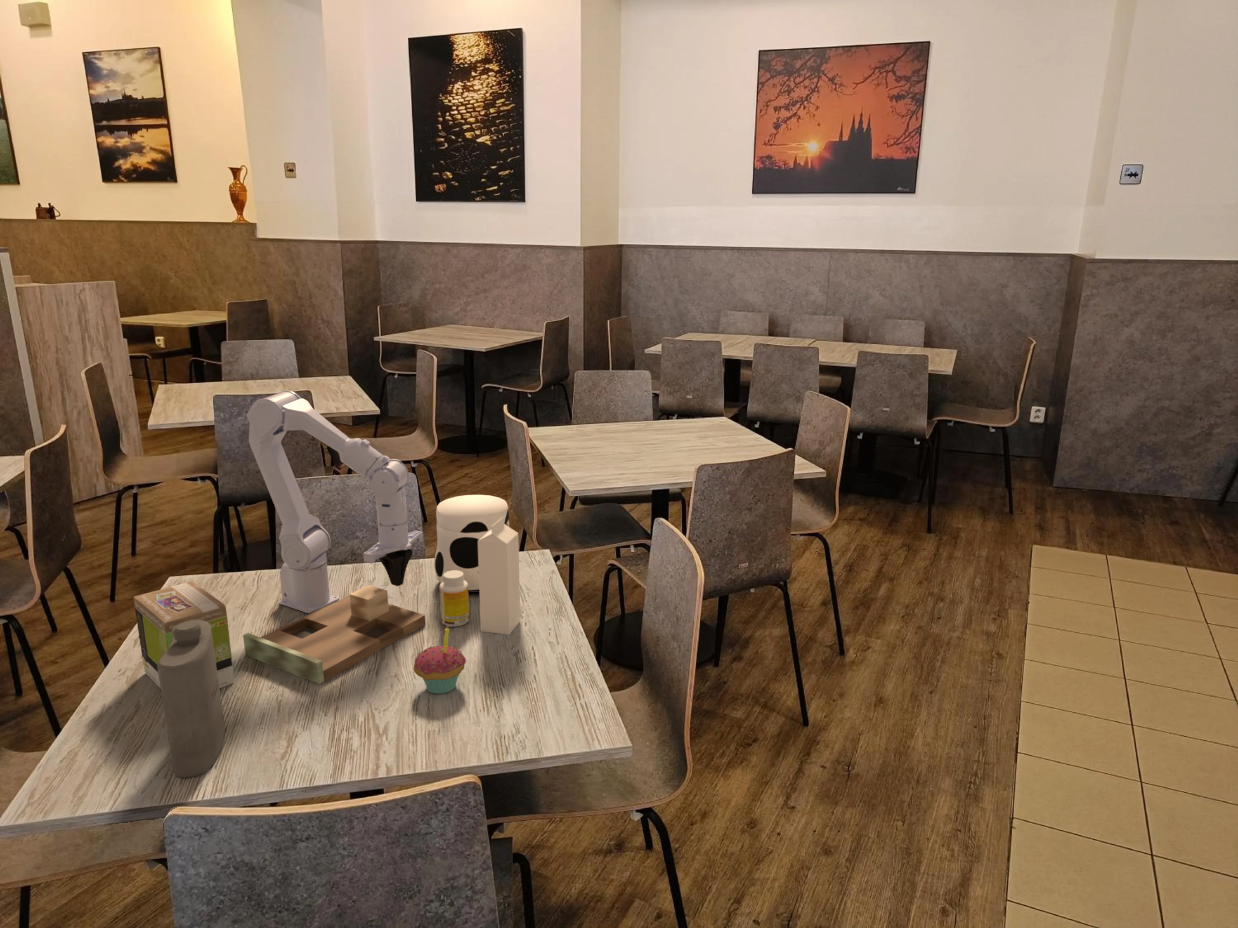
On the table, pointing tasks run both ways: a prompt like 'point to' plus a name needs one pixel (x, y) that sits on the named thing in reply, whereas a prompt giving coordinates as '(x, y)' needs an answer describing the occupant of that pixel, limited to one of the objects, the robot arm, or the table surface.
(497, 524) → the milk
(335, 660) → the wooden board with holes
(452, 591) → the supplement bottle
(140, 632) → the tea box
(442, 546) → the milk container
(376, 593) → the block
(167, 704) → the flask
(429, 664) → the cupcake
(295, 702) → the table surface
